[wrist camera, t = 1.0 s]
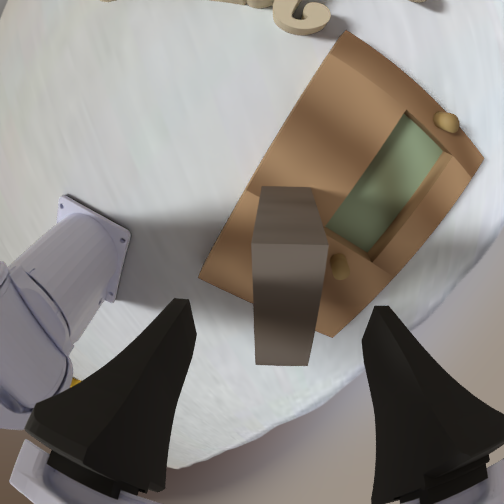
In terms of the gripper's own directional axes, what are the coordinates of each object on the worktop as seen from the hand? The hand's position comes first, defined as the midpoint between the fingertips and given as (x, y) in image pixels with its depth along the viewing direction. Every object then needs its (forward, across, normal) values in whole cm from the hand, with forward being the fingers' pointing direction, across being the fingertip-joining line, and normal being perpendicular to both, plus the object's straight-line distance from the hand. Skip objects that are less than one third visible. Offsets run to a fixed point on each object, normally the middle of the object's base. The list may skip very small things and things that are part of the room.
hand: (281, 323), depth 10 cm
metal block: (+9, 0, +2) cm, 9 cm away
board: (+10, -4, -1) cm, 11 cm away
